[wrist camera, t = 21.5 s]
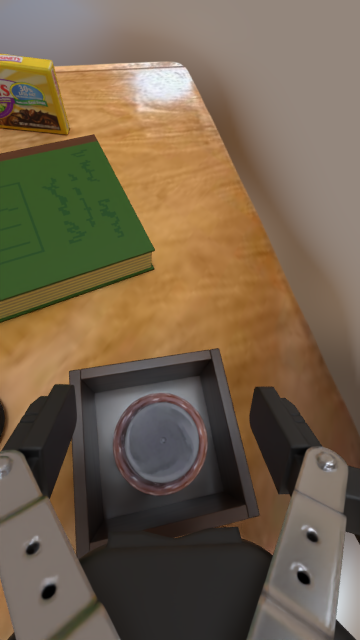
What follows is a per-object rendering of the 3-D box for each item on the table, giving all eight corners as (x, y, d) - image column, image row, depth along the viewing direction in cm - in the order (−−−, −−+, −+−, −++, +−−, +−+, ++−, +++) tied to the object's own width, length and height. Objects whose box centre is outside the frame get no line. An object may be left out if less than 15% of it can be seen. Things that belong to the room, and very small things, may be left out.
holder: (204, 368, 30) (219, 347, 23) (232, 498, 25) (260, 515, 19) (87, 387, 28) (68, 370, 21) (96, 530, 24) (76, 562, 17)
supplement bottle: (158, 393, 27) (163, 361, 17) (205, 440, 26) (242, 437, 16) (109, 443, 25) (81, 441, 15) (157, 497, 24) (164, 536, 14)
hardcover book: (98, 161, 40) (94, 134, 36) (154, 269, 34) (154, 249, 30) (-112, 209, 33) (-142, 182, 30) (-90, 353, 27) (-124, 340, 24)
